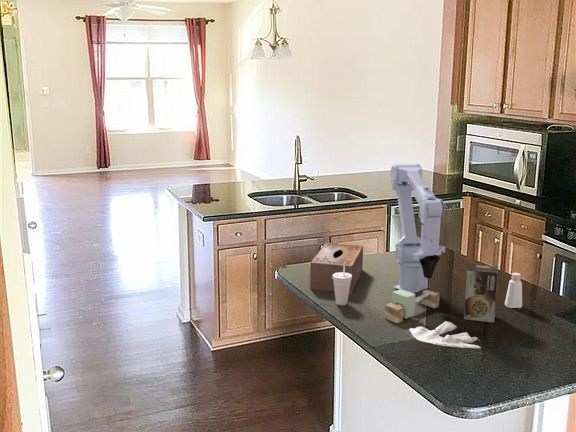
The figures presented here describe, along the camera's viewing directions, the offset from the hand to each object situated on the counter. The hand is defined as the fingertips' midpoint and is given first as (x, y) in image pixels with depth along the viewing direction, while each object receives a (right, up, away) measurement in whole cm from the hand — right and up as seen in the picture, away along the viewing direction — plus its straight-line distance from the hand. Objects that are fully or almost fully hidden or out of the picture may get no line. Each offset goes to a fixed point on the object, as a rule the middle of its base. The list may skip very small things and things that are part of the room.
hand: (427, 277), depth 196 cm
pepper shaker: (+28, -10, +2) cm, 30 cm away
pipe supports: (-6, -11, -4) cm, 13 cm away
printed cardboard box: (+14, -12, -8) cm, 20 cm away
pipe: (-6, -8, -4) cm, 11 cm away
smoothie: (-28, -9, +3) cm, 29 cm away
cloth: (+2, -16, -20) cm, 26 cm away
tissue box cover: (-27, -4, +26) cm, 38 cm away
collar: (-9, -11, -7) cm, 16 cm away
